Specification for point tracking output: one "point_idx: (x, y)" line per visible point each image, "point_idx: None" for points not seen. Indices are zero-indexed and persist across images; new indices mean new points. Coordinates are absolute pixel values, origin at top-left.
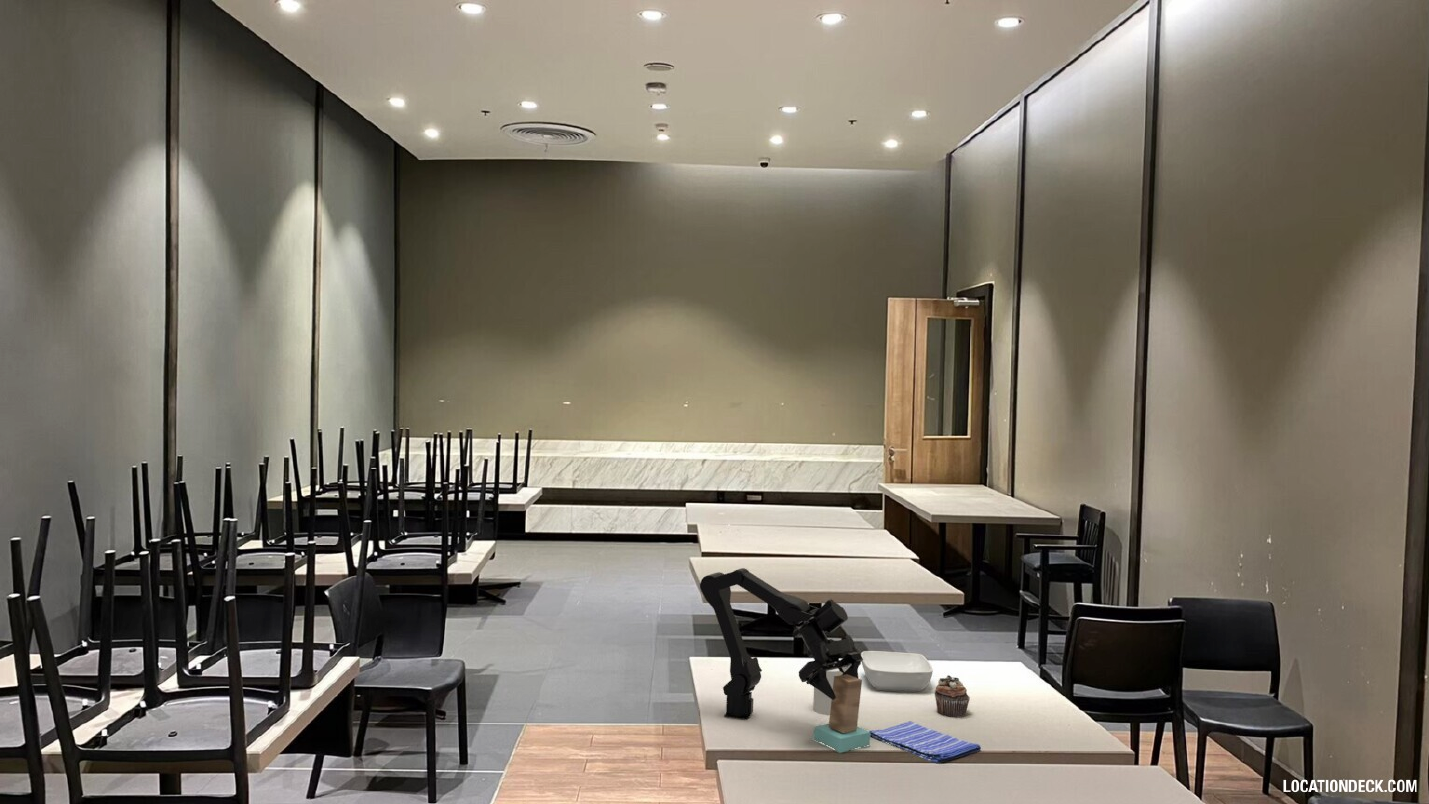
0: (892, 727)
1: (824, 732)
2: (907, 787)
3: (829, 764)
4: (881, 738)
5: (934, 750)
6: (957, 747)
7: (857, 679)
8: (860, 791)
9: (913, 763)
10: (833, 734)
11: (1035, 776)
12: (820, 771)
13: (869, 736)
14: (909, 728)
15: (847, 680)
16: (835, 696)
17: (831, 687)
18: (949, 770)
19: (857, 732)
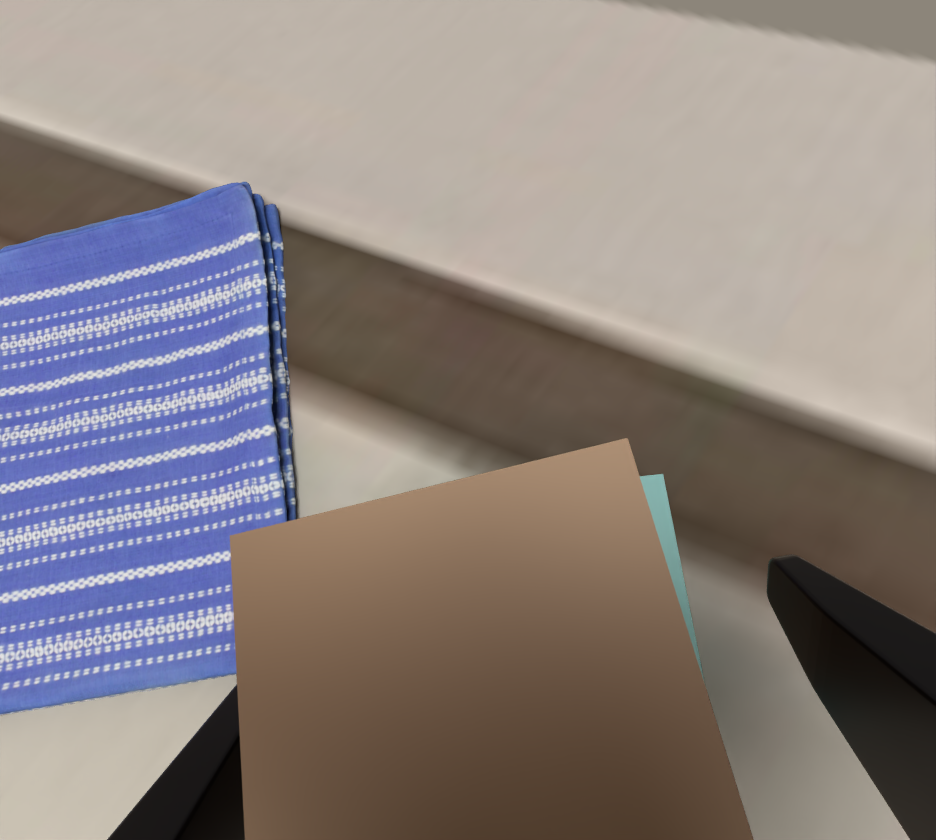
0: (102, 679)
1: (696, 656)
2: (580, 45)
3: (799, 361)
4: None
5: (184, 303)
6: (67, 295)
7: (313, 567)
8: (811, 57)
9: (373, 238)
10: None
11: (71, 19)
12: (901, 296)
13: None
14: (29, 626)
15: (605, 531)
16: (781, 566)
17: (897, 673)
18: (292, 135)
19: None
